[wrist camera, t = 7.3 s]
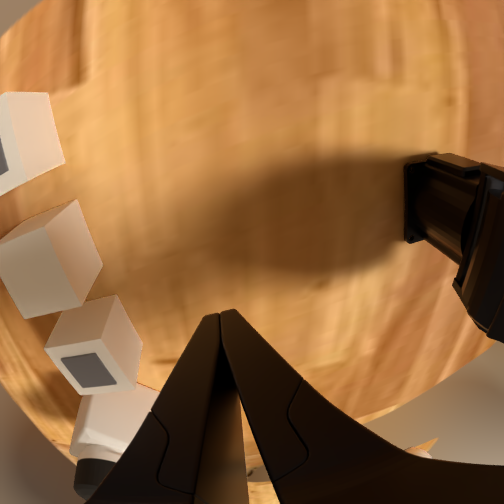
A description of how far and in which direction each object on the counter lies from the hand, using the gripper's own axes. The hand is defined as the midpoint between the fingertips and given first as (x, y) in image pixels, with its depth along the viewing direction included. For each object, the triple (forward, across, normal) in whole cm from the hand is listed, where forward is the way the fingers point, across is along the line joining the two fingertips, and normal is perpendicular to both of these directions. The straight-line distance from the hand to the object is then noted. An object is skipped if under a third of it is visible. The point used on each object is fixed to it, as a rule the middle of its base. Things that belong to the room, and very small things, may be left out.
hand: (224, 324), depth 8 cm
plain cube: (+12, +11, 0) cm, 16 cm away
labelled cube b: (+12, +11, -8) cm, 18 cm away
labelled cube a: (+12, +11, +8) cm, 18 cm away
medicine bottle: (+12, +14, +16) cm, 25 cm away
